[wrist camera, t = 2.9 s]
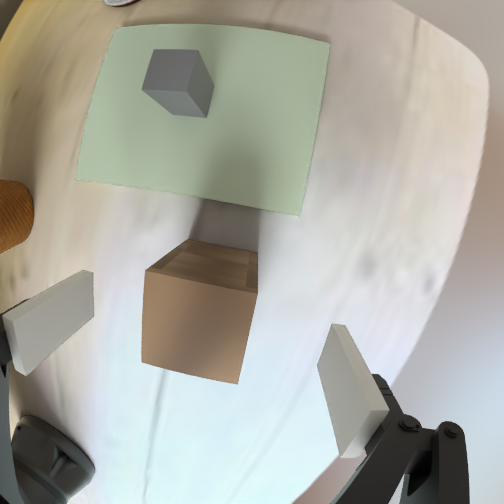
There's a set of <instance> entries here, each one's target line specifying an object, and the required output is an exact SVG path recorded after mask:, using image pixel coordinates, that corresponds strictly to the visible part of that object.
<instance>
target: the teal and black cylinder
mask: <svg viewBox="0 0 504 504" xmlns="http://www.w3.org/2000/svg"><path fill="white" fill-rule="evenodd" d="M103 1H104V3H106V4H107V5H110V6H113V7H123V6H128V5H131V4H133V3H136V2H138V1H139V0H103Z"/></svg>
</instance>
